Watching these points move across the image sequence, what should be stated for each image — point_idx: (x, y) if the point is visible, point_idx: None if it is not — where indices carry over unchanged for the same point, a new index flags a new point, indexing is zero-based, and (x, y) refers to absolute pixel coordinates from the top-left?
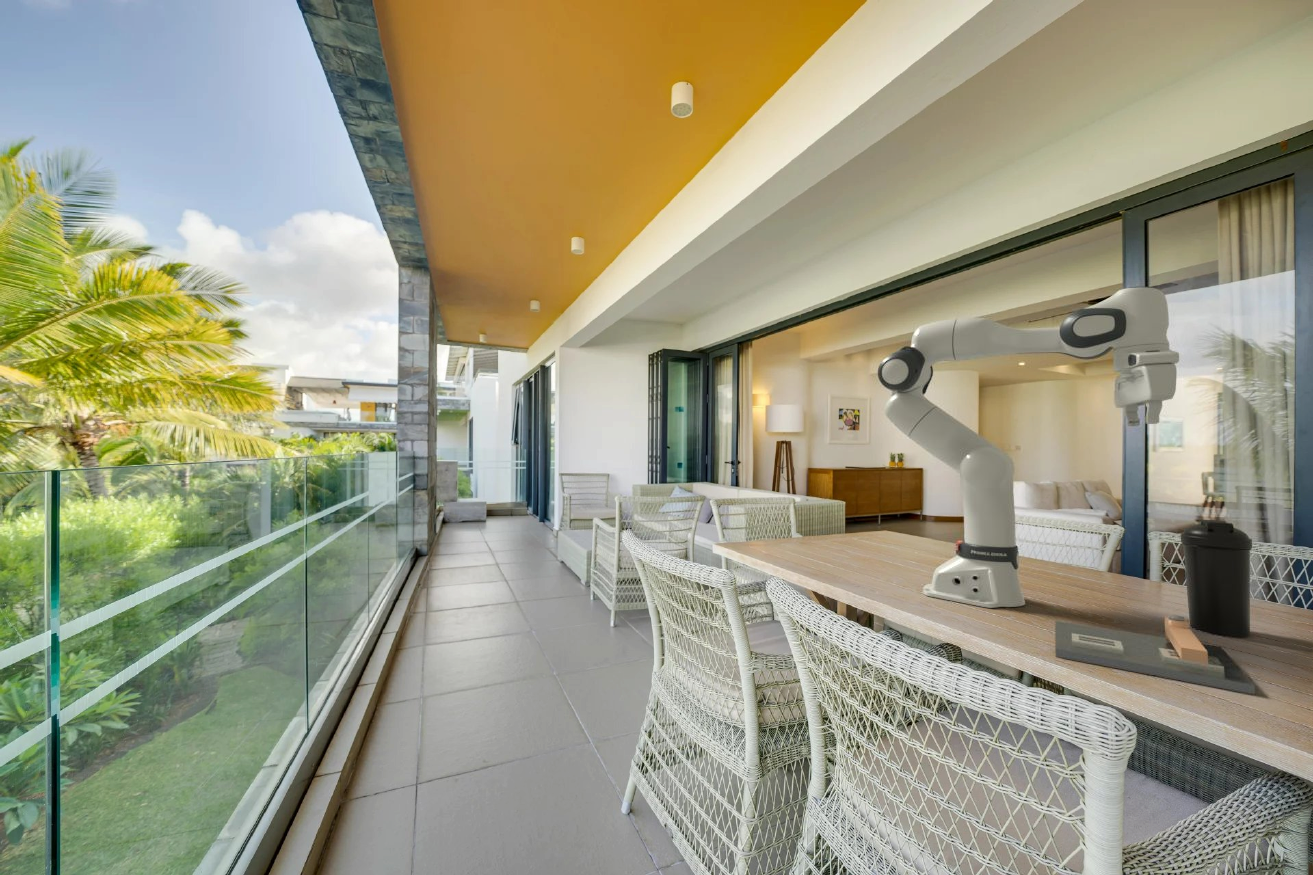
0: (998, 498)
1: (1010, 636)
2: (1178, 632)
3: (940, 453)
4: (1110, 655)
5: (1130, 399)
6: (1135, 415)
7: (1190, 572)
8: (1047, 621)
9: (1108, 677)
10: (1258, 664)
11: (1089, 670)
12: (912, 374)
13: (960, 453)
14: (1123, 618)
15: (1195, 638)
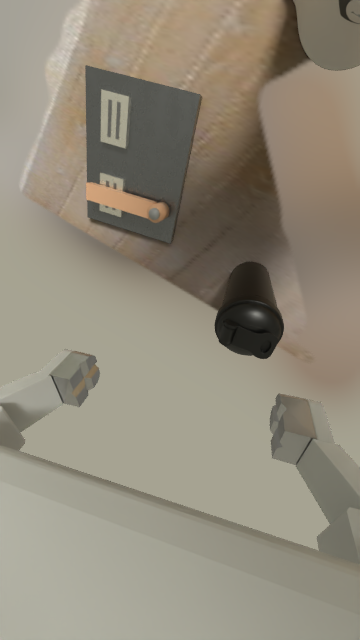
0: None
1: (137, 11)
2: (132, 202)
3: None
4: (95, 126)
5: (109, 539)
6: (315, 486)
7: (246, 282)
8: (230, 91)
9: (64, 113)
10: (160, 256)
11: (71, 99)
12: None
13: None
14: (273, 207)
15: (120, 208)
